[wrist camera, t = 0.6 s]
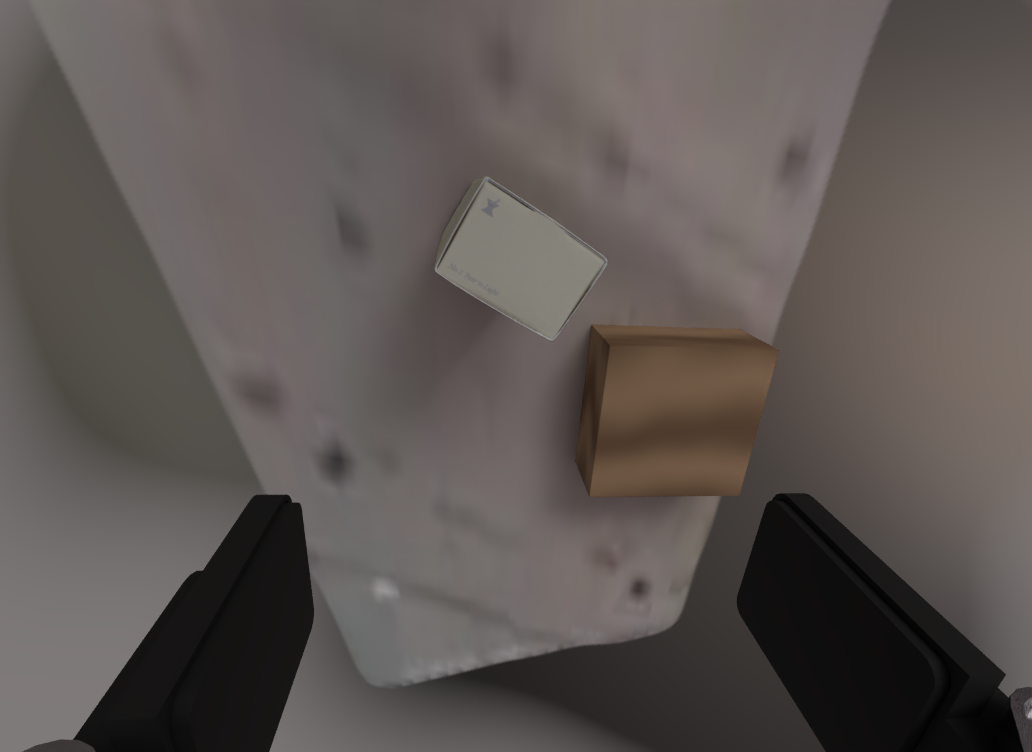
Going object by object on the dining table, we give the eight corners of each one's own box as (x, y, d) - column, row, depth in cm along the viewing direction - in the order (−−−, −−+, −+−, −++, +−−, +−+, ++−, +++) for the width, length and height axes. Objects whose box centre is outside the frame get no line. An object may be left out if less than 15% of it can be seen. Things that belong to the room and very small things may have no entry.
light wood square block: (590, 323, 34) (610, 345, 29) (737, 328, 35) (779, 350, 30) (574, 458, 38) (589, 496, 33) (706, 458, 39) (739, 495, 34)
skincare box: (439, 238, 30) (423, 270, 19) (475, 175, 29) (481, 169, 18) (522, 290, 32) (551, 348, 21) (559, 232, 31) (612, 260, 20)
